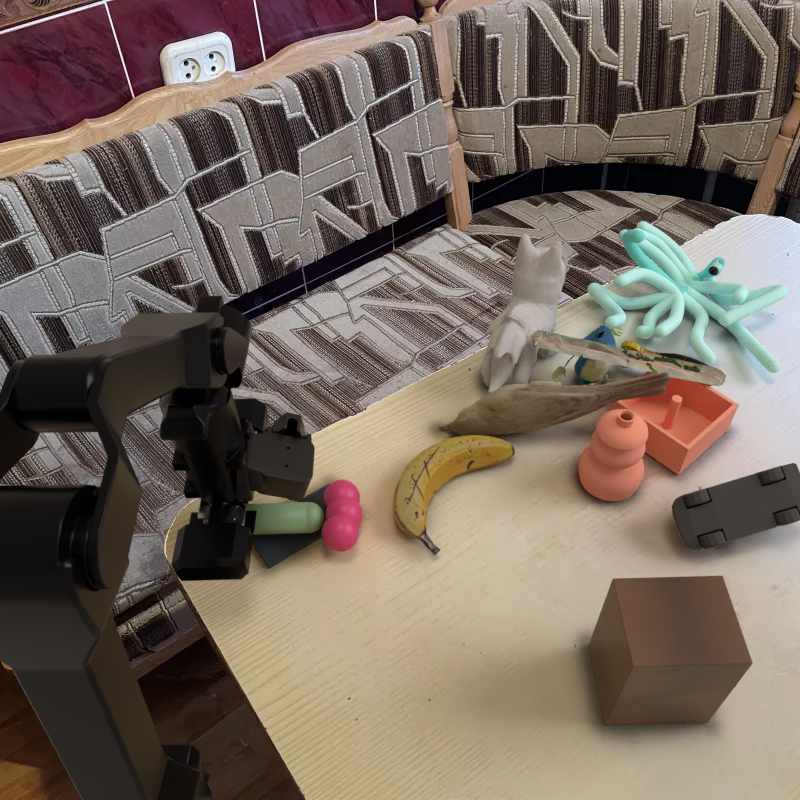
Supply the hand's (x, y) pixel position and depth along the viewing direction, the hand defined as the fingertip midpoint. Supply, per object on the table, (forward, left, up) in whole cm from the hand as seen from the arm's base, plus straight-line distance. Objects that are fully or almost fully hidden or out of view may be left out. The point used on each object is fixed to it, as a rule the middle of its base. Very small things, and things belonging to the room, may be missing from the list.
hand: (240, 531), depth 76 cm
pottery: (+31, -29, 0) cm, 43 cm away
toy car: (+26, -41, +5) cm, 49 cm away
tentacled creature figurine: (+46, -25, +5) cm, 52 cm away
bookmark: (+37, -24, +6) cm, 45 cm away
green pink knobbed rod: (+3, -4, +1) cm, 5 cm away
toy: (+37, -13, 0) cm, 39 cm away
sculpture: (+31, -18, +4) cm, 36 cm away
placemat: (+4, -5, 0) cm, 6 cm away
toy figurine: (+38, -20, 0) cm, 43 cm away
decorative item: (+43, -27, 0) cm, 51 cm away
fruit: (+16, -15, 0) cm, 22 cm away
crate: (+8, -39, 0) cm, 40 cm away
